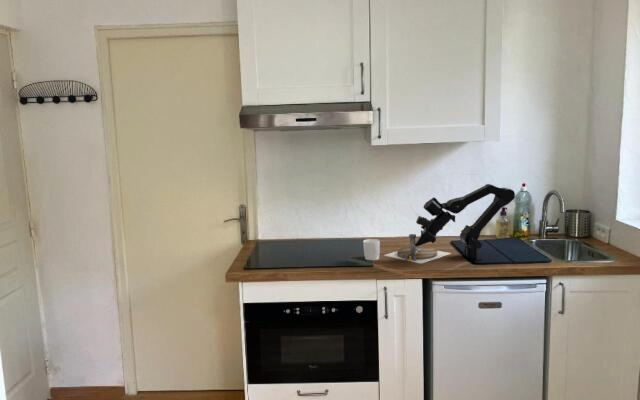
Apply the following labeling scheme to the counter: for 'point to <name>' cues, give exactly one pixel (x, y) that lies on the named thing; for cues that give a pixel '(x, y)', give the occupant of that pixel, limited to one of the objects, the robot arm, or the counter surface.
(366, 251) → the white cup
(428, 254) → the dial
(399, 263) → the counter surface
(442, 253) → the base
